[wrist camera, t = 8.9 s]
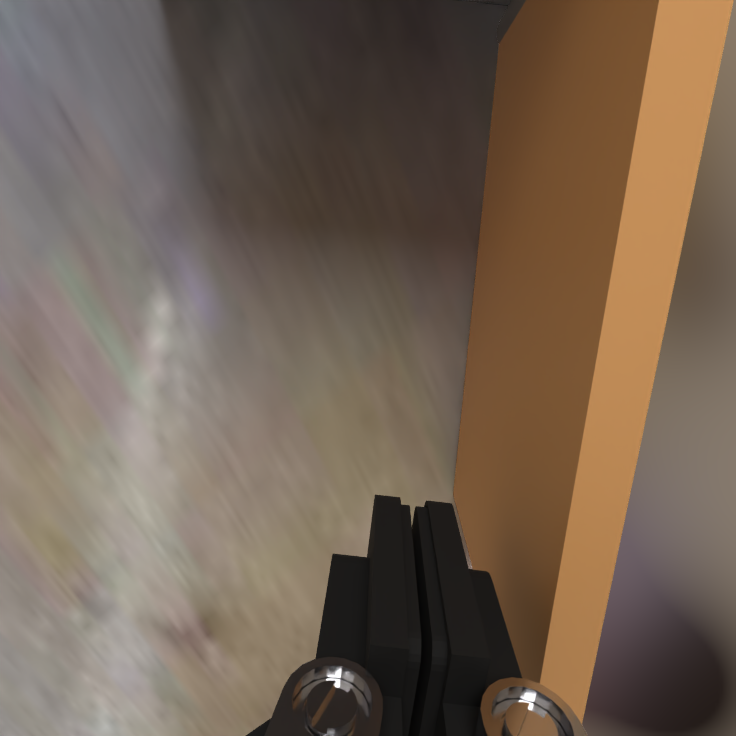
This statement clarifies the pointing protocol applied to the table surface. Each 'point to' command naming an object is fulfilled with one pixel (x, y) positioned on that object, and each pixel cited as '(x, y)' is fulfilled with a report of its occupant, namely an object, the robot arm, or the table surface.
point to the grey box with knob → (491, 1)
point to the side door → (575, 301)
